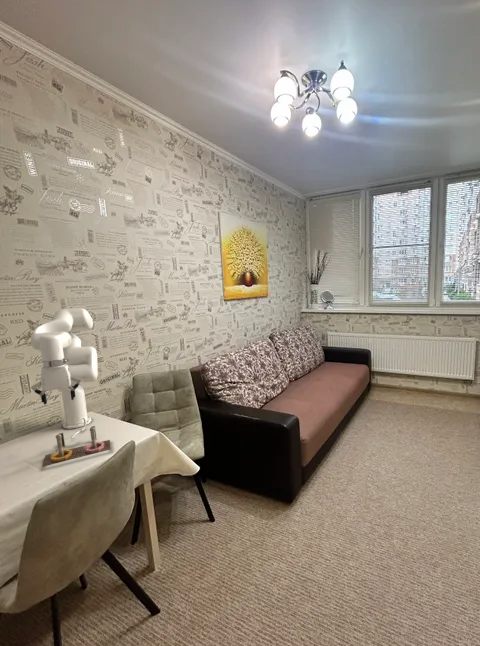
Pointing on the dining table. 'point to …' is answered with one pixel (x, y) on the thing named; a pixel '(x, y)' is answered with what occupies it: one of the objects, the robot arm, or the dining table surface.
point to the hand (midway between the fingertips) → (59, 401)
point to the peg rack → (76, 449)
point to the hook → (82, 429)
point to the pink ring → (96, 444)
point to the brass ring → (63, 451)
